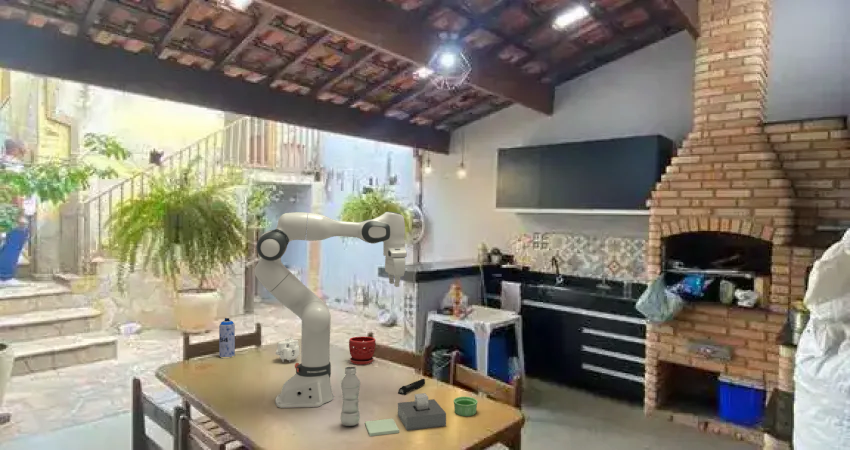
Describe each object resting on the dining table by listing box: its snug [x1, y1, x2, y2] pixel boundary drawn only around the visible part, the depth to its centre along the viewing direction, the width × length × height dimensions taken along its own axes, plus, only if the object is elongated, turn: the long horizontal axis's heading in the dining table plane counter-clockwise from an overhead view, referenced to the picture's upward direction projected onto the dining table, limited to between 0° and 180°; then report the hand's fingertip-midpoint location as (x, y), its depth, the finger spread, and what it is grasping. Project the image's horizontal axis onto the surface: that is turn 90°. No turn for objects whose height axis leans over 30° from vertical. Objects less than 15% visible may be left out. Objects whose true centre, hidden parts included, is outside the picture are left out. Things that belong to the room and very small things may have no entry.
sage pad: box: [364, 417, 400, 437], centre depth 173 cm, size 10×10×1 cm
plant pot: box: [348, 336, 377, 366], centre depth 251 cm, size 13×13×12 cm
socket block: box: [397, 398, 447, 432], centre depth 180 cm, size 14×14×4 cm
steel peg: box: [414, 392, 429, 411], centre depth 180 cm, size 4×4×9 cm
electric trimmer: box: [397, 378, 426, 396], centre depth 212 cm, size 4×16×3 cm, turn 142°
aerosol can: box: [218, 317, 236, 358], centre depth 261 cm, size 8×8×20 cm
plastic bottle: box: [340, 366, 361, 427], centre depth 176 cm, size 6×7×20 cm
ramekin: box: [453, 396, 479, 417], centre depth 188 cm, size 9×9×4 cm
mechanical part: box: [275, 336, 301, 363], centre depth 253 cm, size 11×12×12 cm
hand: (394, 285), depth 205 cm, fingers open, 8 cm apart
